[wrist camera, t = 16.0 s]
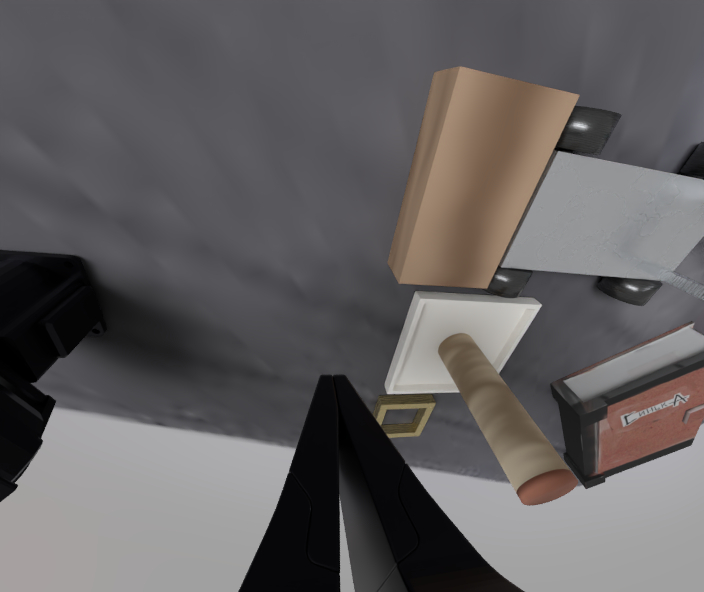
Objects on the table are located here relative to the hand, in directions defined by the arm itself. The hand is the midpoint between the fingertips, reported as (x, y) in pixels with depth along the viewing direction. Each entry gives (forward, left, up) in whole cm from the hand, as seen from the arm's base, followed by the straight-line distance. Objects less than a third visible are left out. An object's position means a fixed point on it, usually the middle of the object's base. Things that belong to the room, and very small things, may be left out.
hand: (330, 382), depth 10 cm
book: (+46, -21, -14) cm, 52 cm away
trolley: (+21, +4, -13) cm, 25 cm away
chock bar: (+9, +4, -13) cm, 17 cm away
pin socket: (+12, -21, -13) cm, 27 cm away
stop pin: (+15, -10, -13) cm, 22 cm away
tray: (+15, -10, -13) cm, 22 cm away
